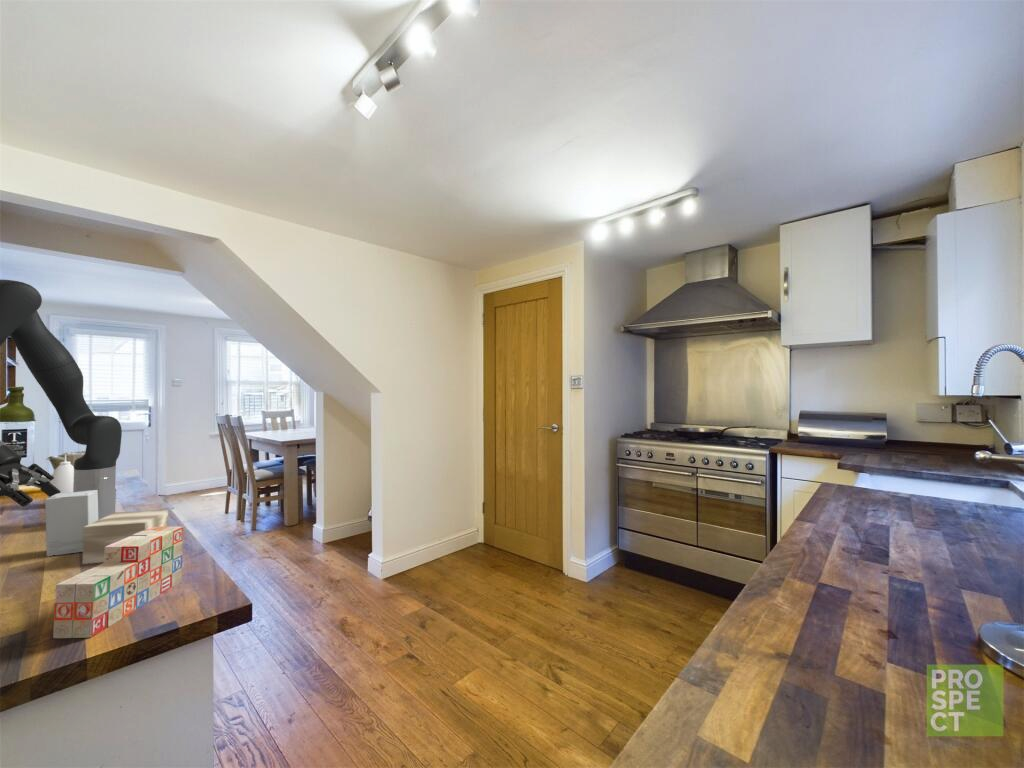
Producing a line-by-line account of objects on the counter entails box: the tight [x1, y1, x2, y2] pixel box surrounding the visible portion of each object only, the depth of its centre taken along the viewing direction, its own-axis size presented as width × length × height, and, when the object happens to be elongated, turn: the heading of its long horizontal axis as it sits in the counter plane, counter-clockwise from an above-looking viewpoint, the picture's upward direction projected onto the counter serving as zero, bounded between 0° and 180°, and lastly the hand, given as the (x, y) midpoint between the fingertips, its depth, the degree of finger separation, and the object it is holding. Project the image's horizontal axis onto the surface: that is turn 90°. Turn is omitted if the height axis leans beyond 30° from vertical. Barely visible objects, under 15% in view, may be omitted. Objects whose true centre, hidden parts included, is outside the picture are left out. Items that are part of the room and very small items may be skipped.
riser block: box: [82, 509, 169, 565], centre depth 107 cm, size 12×12×9 cm
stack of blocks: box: [52, 526, 184, 639], centre depth 81 cm, size 21×6×12 cm, turn 4°
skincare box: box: [44, 490, 98, 557], centre depth 107 cm, size 8×6×15 cm
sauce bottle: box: [50, 454, 74, 493], centre depth 146 cm, size 8×8×18 cm
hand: (43, 499), depth 105 cm, fingers open, 8 cm apart
